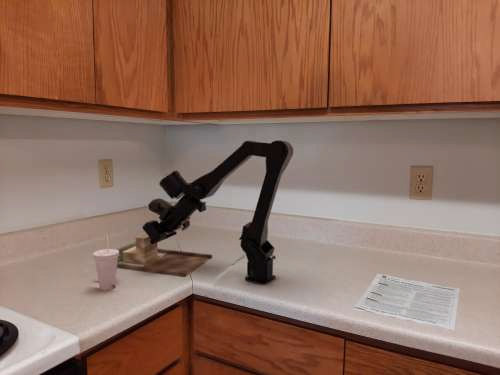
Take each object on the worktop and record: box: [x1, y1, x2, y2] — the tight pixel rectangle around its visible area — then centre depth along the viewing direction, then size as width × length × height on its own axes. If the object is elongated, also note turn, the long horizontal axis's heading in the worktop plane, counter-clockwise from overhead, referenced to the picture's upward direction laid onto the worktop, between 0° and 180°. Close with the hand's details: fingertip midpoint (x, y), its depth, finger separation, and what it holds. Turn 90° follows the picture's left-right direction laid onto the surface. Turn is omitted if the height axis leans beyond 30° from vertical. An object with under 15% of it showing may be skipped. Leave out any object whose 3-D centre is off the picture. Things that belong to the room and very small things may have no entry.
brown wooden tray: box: [116, 240, 213, 278], centre depth 112 cm, size 26×18×6 cm
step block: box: [122, 232, 159, 264], centre depth 114 cm, size 8×7×8 cm
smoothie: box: [92, 235, 119, 292], centre depth 95 cm, size 6×6×14 cm
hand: (151, 243), depth 113 cm, fingers closed, pressing on step block
